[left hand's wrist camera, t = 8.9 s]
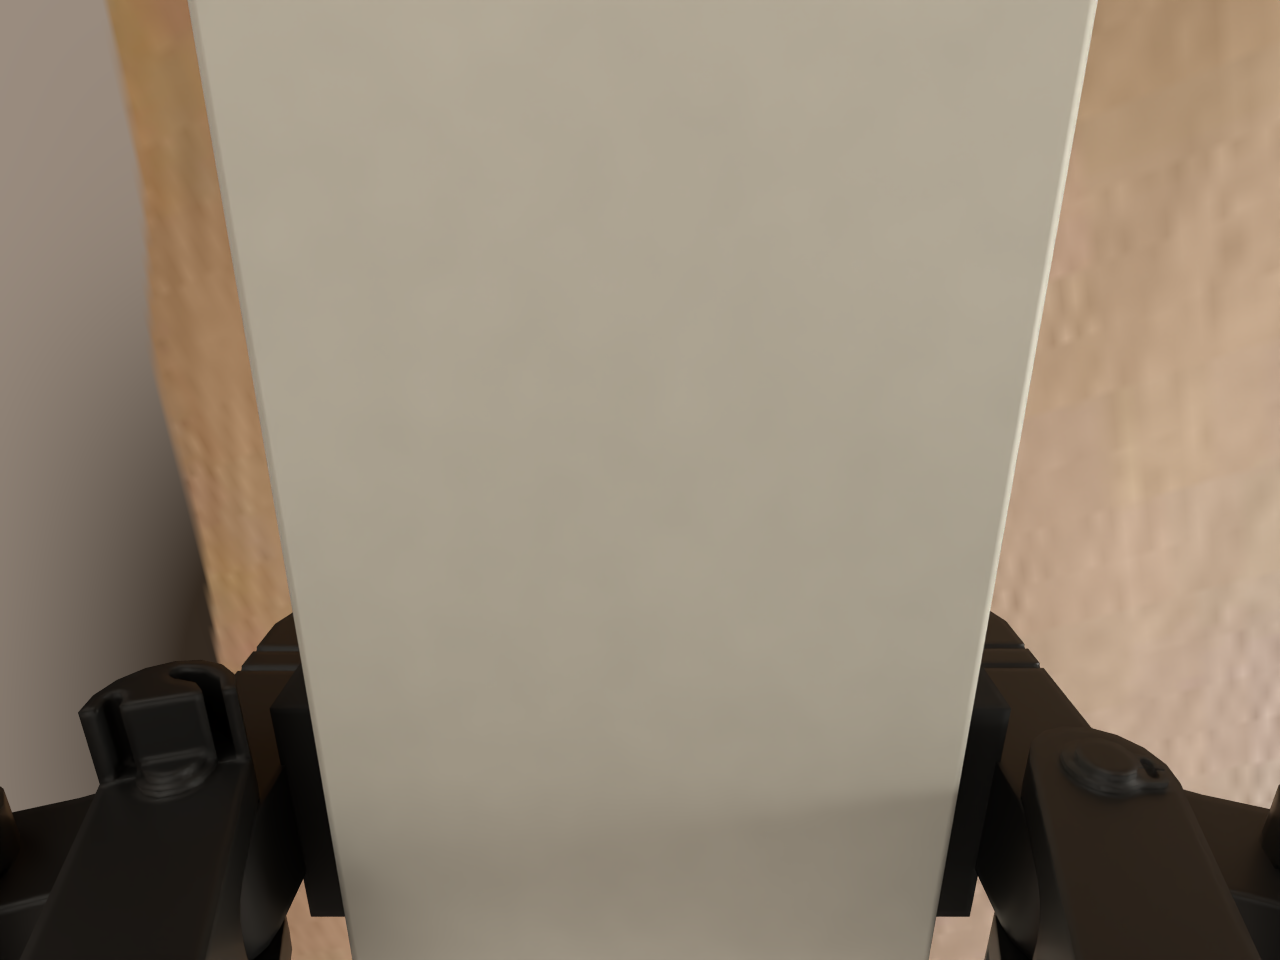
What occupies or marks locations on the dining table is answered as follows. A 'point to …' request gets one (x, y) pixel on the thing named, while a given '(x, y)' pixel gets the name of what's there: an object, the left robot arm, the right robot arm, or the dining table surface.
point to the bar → (641, 443)
